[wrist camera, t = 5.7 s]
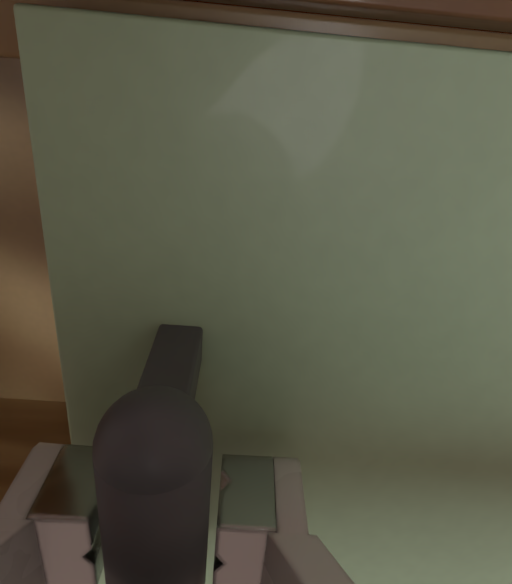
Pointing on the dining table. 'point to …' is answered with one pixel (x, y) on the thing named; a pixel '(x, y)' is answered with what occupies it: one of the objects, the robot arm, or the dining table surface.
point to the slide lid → (280, 283)
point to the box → (24, 196)
